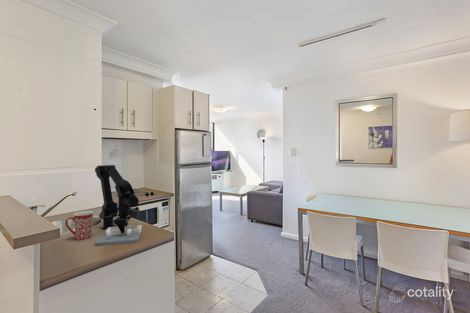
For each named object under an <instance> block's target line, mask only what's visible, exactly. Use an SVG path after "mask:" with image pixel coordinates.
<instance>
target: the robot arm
mask: <svg viewBox="0 0 470 313" xmlns="http://www.w3.org/2000/svg"><path fill="white" fill-rule="evenodd" d="M94 172H95V174H96V177H97V178H98V179H99V180H100V185H101V186H100V187H101V192H102V198H103V204H102V206H101V211H100V213H99V214H98V215H99V216H98V218H99V220H102V225H103V226H101V228H100V229H101V230H107V229H108V228H109V227H118V228H119V230H120V231H121V233H122V234H123V233H124V230H125V226H129V221H130V219H131V218H132V217H134V218H138V217H139V215H140V213H141V209H140V207H139V206H138V204H139V201H140V200H139V198H138V197H137V196H136V194H135V190H134V189H133V186H132V185H131V183H130V182H129V181H128V180H126V179H124V178H123V176H122V174H120V172H119V171H118V170H117V168H116V165H114V164H109V165H108V164H107V165H106V164H105V165H97V166H96V167H95V169H94ZM110 179H111V180H112V181H113V183H114V185H115V186H114V189H115V191H116V193H117V194H116V197H118V203H117V202H115V201H114V200H113V194H112V187H111V182H110ZM115 217H116V218H115ZM114 218H115V219H114Z"/></svg>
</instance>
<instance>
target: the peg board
mask: <svg viewBox="0 0 470 313" xmlns="http://www.w3.org/2000/svg"><path fill="white" fill-rule="evenodd" d="M105 231H106V230H105ZM141 235H142V232H140V233H132V232H131V229H127V234H118V235H111V230H108V231H106V235H100V237H98V239H97V240H96V241H95V242H94V247H100V246H111V245H123V244H133V243H138V242H139V240H140V238H141Z"/></svg>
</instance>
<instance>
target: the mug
mask: <svg viewBox="0 0 470 313" xmlns="http://www.w3.org/2000/svg"><path fill="white" fill-rule="evenodd" d="M93 215H94V212H93V211H91V210H87V211H86V210H85V211H78V212H75V213H73V216H69V217H68V218H66V220H65V227H66V228H67V229H68V231H69V232H70V233H71V234H73V235H74V237H75V238H74V239H75V240H80V241H81V240H87V239H89V238H91V237H92V228H93ZM69 220H72V221H73V222H74V230H73V229H72V228H71V227H70V226H69V224H68V222H69Z"/></svg>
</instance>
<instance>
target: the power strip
mask: <svg viewBox="0 0 470 313" xmlns="http://www.w3.org/2000/svg"><path fill="white" fill-rule="evenodd" d="M142 227H143V226H142V224H136V225H128V226H125V230H124V233H123V234H127V229H131V232H132V233H142V231H143V230H142V229H143V228H142ZM108 230H111V235H118V234H122V233H121V231H120V230H119V228H118V226H114V227H109V228H108V229H105V232H104V233H105V235H106V231H108ZM105 235H104V236H105Z"/></svg>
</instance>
